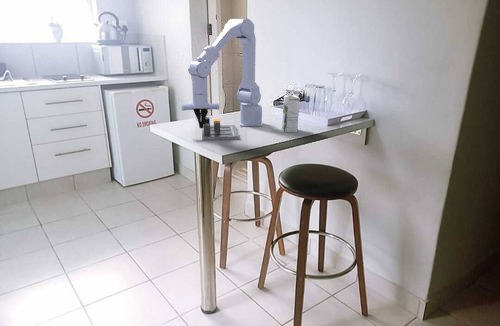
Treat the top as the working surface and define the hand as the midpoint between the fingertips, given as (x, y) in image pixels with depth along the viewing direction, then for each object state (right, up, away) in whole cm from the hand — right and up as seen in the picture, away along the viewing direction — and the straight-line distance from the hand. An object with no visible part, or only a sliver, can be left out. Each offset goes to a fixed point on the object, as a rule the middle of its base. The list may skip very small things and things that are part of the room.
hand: (201, 127), depth 144 cm
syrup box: (+36, -1, +8) cm, 37 cm away
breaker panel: (+7, -2, +2) cm, 8 cm away
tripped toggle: (+6, -1, +1) cm, 6 cm away
